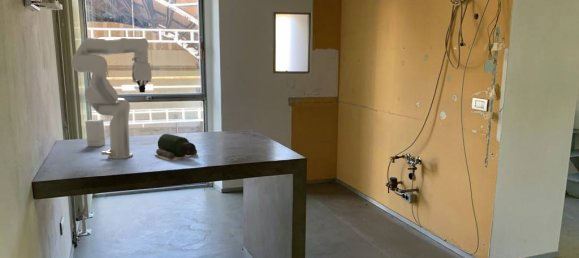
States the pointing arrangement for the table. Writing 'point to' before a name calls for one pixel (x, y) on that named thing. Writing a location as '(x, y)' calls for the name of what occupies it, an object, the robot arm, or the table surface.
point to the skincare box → (95, 133)
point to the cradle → (171, 155)
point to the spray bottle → (176, 145)
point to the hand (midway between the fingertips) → (142, 92)
